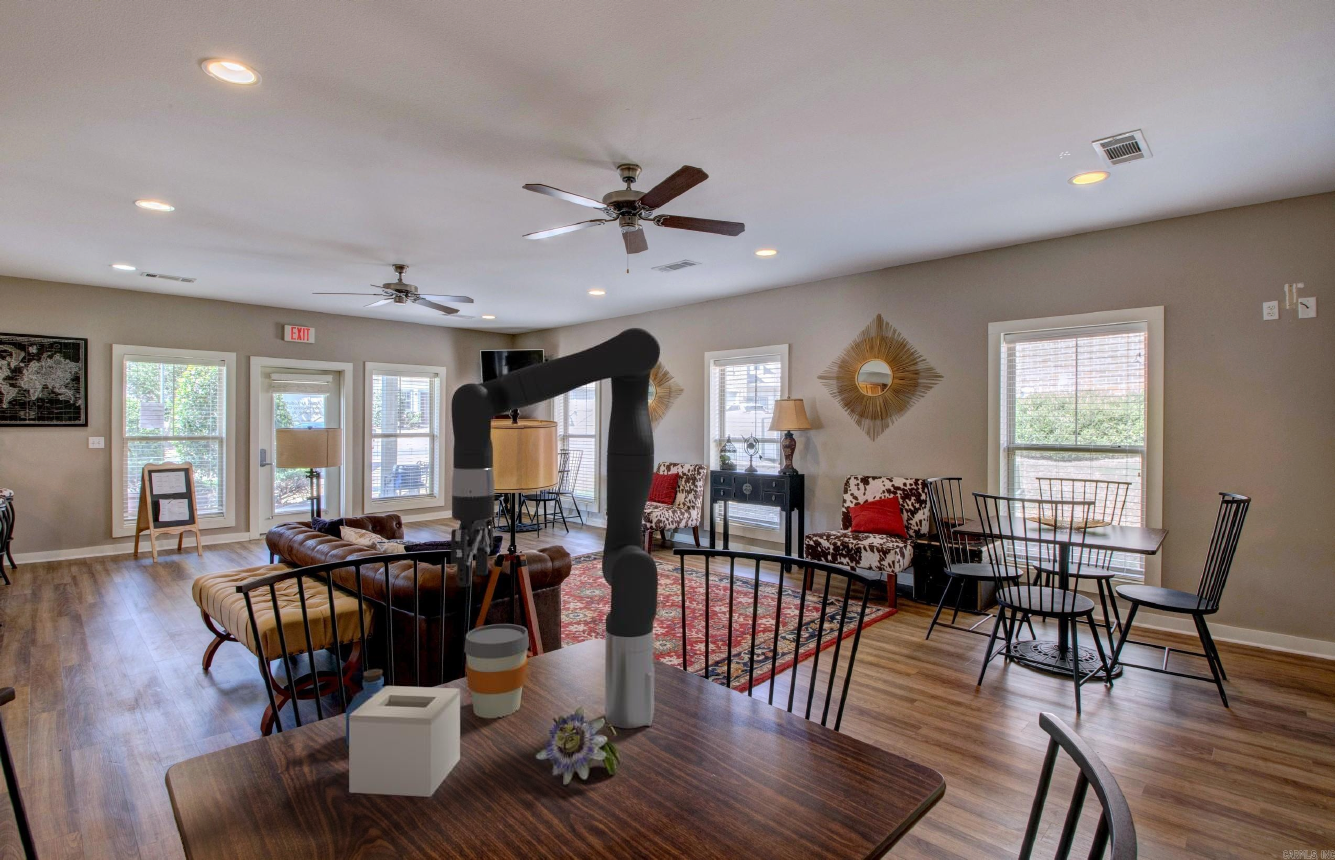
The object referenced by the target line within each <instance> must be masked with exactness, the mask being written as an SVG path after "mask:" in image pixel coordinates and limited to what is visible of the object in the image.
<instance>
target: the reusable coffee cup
mask: <svg viewBox="0 0 1335 860" xmlns="http://www.w3.org/2000/svg"><path fill="white" fill-rule="evenodd" d="M529 647H530V641H529V633H528V629H527V628H526V627H525V626H522V625H518V624H512V623H497V624H496V623H495V624H489V625H482V626H479V627H476V628H474V629H471V630H470V631H468V632H466V634H465V643H464V653H465V655H466V663H465V670H466V671H465V673H466V678H467V679H466V680H467V687H468V688H469V690H470V693H471V699H472V708H473V713H474V714H475V715H476V716H478V717H481V718H485V719H498V718H497V717H500V718H504V717H507V715H508V716H510V715H513V714H514V713H516V712H517V711H518V710H519V709H520V706H521V698H522V693H523V692H522V690H523V686H524V684H525V683H526V677H527V670H528V669H527V668H528V663H529V662H528V661H529V659H528V657H527V652H528V648H529ZM516 710H517V711H516ZM515 711H516V712H515ZM513 712H514V713H513ZM512 713H513V714H512ZM503 716H504V717H503Z"/></svg>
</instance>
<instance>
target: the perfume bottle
mask: <svg viewBox="0 0 1335 860" xmlns="http://www.w3.org/2000/svg"><path fill="white" fill-rule="evenodd" d="M383 672H384V671H383V669H379V668H374V669H369V670H367V671H364V672H363V679H362V687H363V690H361V691H359V692H357V693H356V694H355V695H354V696H353V699H352V700H351V702H350V703H349V705H348V707H347V708H346V711H345V726H346V727H345V745H346V746H349V715H350V714H351V713H353V712H354V711H355V710H356V709H358V708H359V707H360V706H361V705H363V704H364V703H365V702H366V701H368V700H369V699H370V698H372V697H373V696H374V695H375V694H377V693H378V692H379V691H380V690H382V689H383V688H384V687H385V686H383V685H384V676H382V675H383Z"/></svg>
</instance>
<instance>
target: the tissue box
mask: <svg viewBox="0 0 1335 860" xmlns="http://www.w3.org/2000/svg"><path fill="white" fill-rule="evenodd" d="M383 687H384V688H383V689H382V690H380V691H379V692H378V693H377V694H375V695H374V696H373V697H372V698H370V699H369V700H368V701H366V702H365V703H364V704H363V705H361V706H360V707H359V708H358V709H356V710H355V711H354V712H353V713H351V714H350V715H349V745H348V747H349V748H348V753H349V755H348V757H349V759H348V760H349V762H348V764H349V765H348V769H349V770H348V773H349V774H348V783H349V788H348V791H349V793H351V794H353V793H354V794H374V795H389V796H390V795H392V796H407V797H409V796H410V797H413V796H414V797H427V798H429V797H430V798H431V797H432V796H433V795H434V793H435V792H436V790H437V789H438V788H439V787H440V785H441V784H442V783H443V782H444V780H445V779H446V778H447V777H448V776H449V774H450V773H451V771H452V770H453V768H454V767H456V765H457V763H458V762H459V761H460V760H461V688H454V687H453V688H452V687H451V688H450V687H449V688H448V687H430V686H427V687H426V686H425V687H424V686H400V685H398V686H397V685H385V686H383Z"/></svg>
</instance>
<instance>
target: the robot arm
mask: <svg viewBox="0 0 1335 860" xmlns="http://www.w3.org/2000/svg"><path fill="white" fill-rule="evenodd" d="M660 356H661V347H660V343H659V341H658V339H657V337H656V336H655V335H654V334H653V333H652V332H650V331H649V330H647V329H644V328H640V327H631V328H627V329H624V330H623V331H621V332H620V333H618V334H617V335H615V336H613V337H612V338H609V339H608V340H606V341H605V340H604V341H603V342H601V343H599V344H596V345H595V346H591V347H589V348H587V349H584V350H581V351H578V352H575V353H572V354H569V355H564V356H561V357H557V358H554V359H550V360H546V361H542V362H539V363H535V364H532V365H531V364H530V365H529V366H526V367H523V368H519V369H517V370H516V369H515V370H513V371H510V372H508V373H506V374H504V375H503V376H501V377H498V378H494V379H491V380H488V381H483V382H480V383H474V382H473V383H472V382H469V383H465V384H463V385H461V386H459V387H458V388H457V389H456V390H455V391H454V393H453V395H452V398H451V406H450V407H451V408H450V409H451V424H452V431H453V432H452V433H453V449H452V450H453V453H452V454H453V456H452V457H453V460H452V461H453V466H452V467H453V469H452V470H453V471H452V477H451V518H452V519H453V520H456V521H459V522H460V524H459V529H458V528H457V529H454V528H453V529H452V530H451V538H450V539H451V541H450V564H451V565H452V564H454V565H455V566H456V575H457V576H456V584H457V586H458V587H469V586H471V584H472V583H471V582H472V581H471V580H472V579H471V578H472V576H471V572H472V569H471V562H472V560H473V555H475V556H474V557H475V558H474V559H475V571H474V572H475V575H476V576H487V574H488V573H489V555H490V552H491V550H493V549H494V524H493V523H494V519H493V518H494V517H495V475H494V446H493V441H492V437H491V435H492V434H491V433H492V418H494V417H497V416H500V415H502V414H506V413H508V412H510V411H512V410H515V409H522V408H525V407H529V406H533V405H536V404H539V403H542V402H545V401H548V400H551V399H553V398H556V397H559V396H562V395H563V394H566V393H569V392H572V391H574V390H576V389H579V388H581V387H584V386H587V385H590V384H592V383H595V382H600V381H603V380H607V379H610V386H611V387H610V389H611V407H610V408H611V409H610V417H609V425H608V432H607V433H608V436H607V449H606V528H605V529H606V530H605V538H604V545H603V552H602V560H601V571H602V576H603V578H604V581H605V582H606V584H607V585H608V586H609V587H610V610H609V613H608V614H606V617H605V657H604V658H605V666H604V667H605V668H604V669H605V671H604V673H605V677H604V678H605V679H604V680H605V683H604V684H605V685H604V686H605V687H604V688H605V689H604V690H605V692H604V693H605V694H604V697H605V703H604V705H605V706H604V717H605V718H604V720H605V722H606V723H607V724H609V723H610V724H611V726H612V727H615V728H620V729H636V728H640V727H645V726H647V727H650V726H652V721H653V719H654V714H655V664H654V621H655V619H656V615H657V610H658V592H659V591H658V590H659V589H658V588H659V584H658V583H659V575H658V574H659V572H658V567H657V563H656V561H655V559H654V558H653V556H652V555H651V554H649V553H648V552H647V551H645V550H644V546H643V519H644V514H645V513H644V512H645V509H646V505H647V502H648V499H649V496H650V494H651V490H652V486H653V482H654V474H655V473H654V472H655V443H654V434H653V427H652V421H651V415H650V410H649V392H650V381H651V374H652V373H651V372H652V371H653V369H654V368H655V367H656V365H657V363H659V362H658V361H659V360H660Z"/></svg>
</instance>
